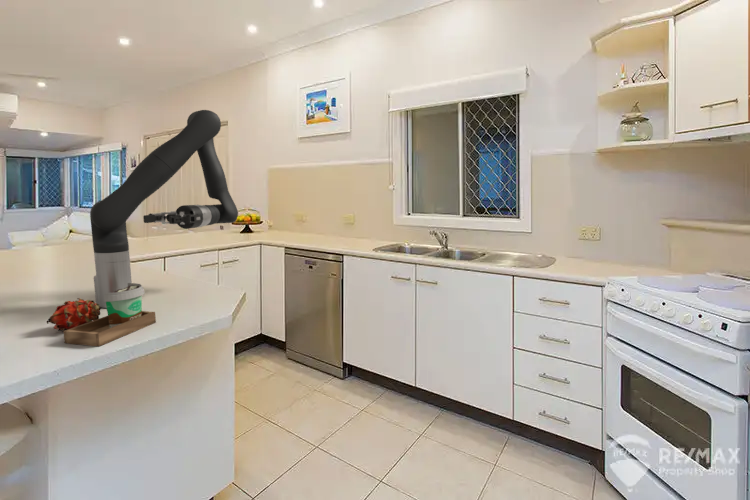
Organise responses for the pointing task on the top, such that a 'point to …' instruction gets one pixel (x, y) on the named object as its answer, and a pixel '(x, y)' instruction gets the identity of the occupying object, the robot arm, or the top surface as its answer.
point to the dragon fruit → (74, 314)
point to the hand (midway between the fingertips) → (157, 219)
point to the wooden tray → (106, 330)
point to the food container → (124, 304)
